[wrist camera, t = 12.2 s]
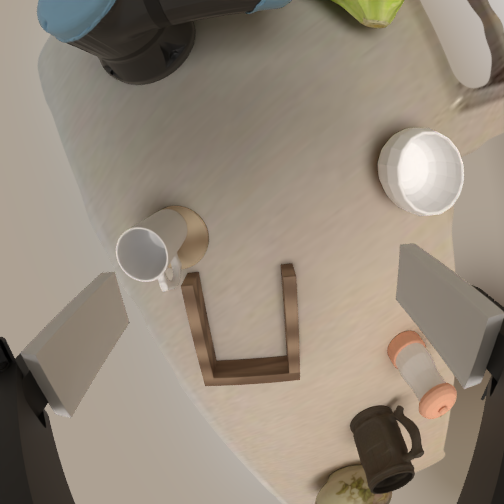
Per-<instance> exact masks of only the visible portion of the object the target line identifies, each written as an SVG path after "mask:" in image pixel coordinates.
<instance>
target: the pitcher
mask: <svg viewBox="0 0 504 504" xmlns="http://www.w3.org/2000/svg"><path fill="white" fill-rule="evenodd" d="M391 497H392V491H391V492H388V493H384V494H373V493H371V491H370V489H369V487H368V482H367V478H366V474H365V471H364V469H363V467H362V465H353V466H348V467H345V468H342V469H340V470H337V471H336V472H334V473H333V474H331V475H330V477H329V478H328V482H327V483H326V484H325V485H324V486H323V488H322V489H321V490H320V492H319V493H318V495H317V498H316V501H315V504H389V502H390V500H391Z"/></svg>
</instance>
